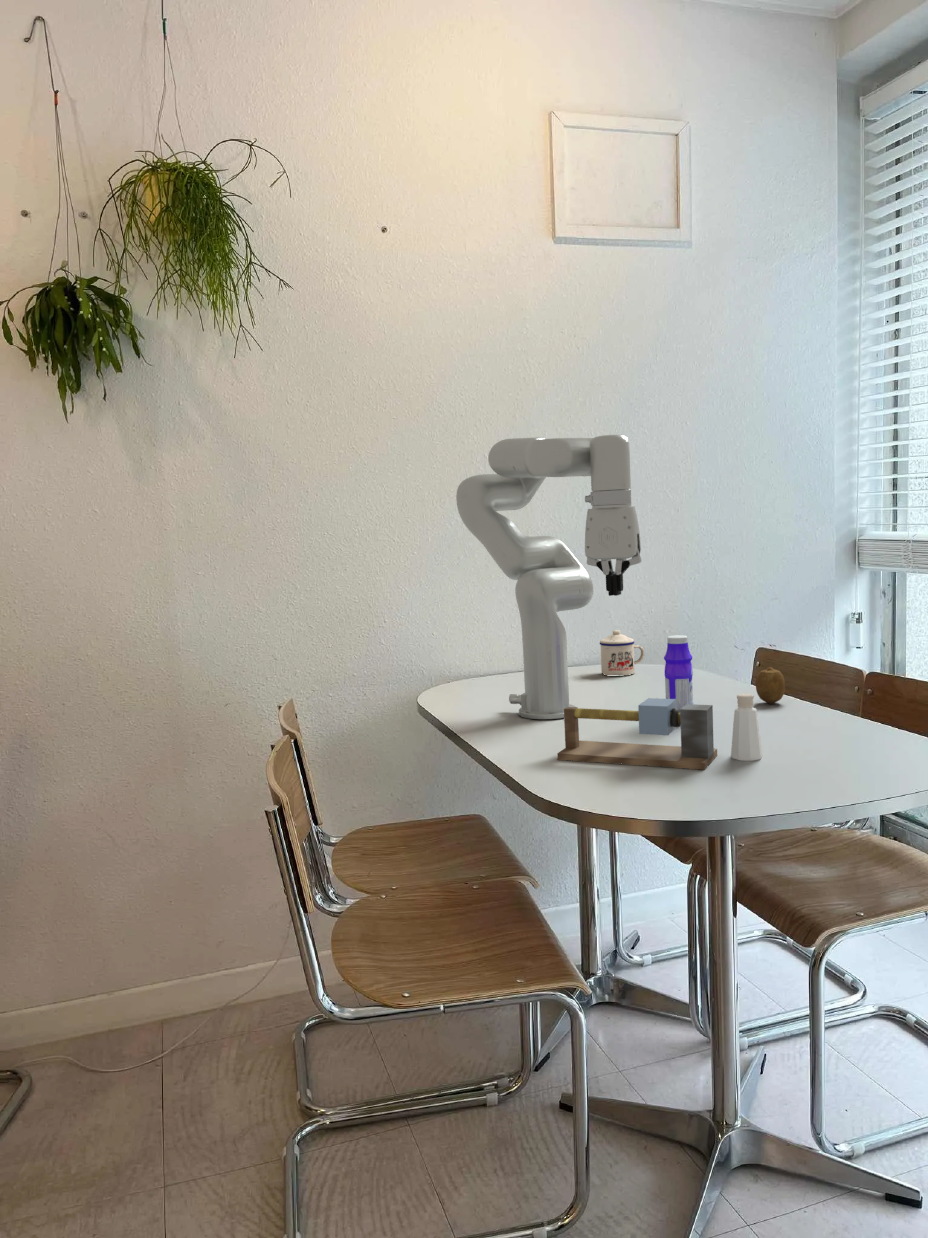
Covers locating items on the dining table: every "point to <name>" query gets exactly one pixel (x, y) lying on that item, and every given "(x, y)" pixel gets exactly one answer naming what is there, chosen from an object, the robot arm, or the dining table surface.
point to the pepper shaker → (746, 731)
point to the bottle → (678, 671)
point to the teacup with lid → (618, 654)
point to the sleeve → (656, 716)
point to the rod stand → (690, 754)
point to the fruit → (770, 685)
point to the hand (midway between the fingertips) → (614, 594)
